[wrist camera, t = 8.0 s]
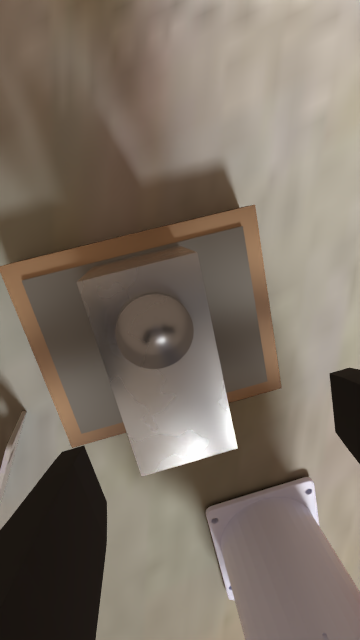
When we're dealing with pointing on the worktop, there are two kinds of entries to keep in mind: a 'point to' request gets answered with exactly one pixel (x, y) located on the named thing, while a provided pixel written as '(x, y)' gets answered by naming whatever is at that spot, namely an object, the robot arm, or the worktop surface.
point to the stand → (78, 338)
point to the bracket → (10, 454)
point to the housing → (160, 356)
